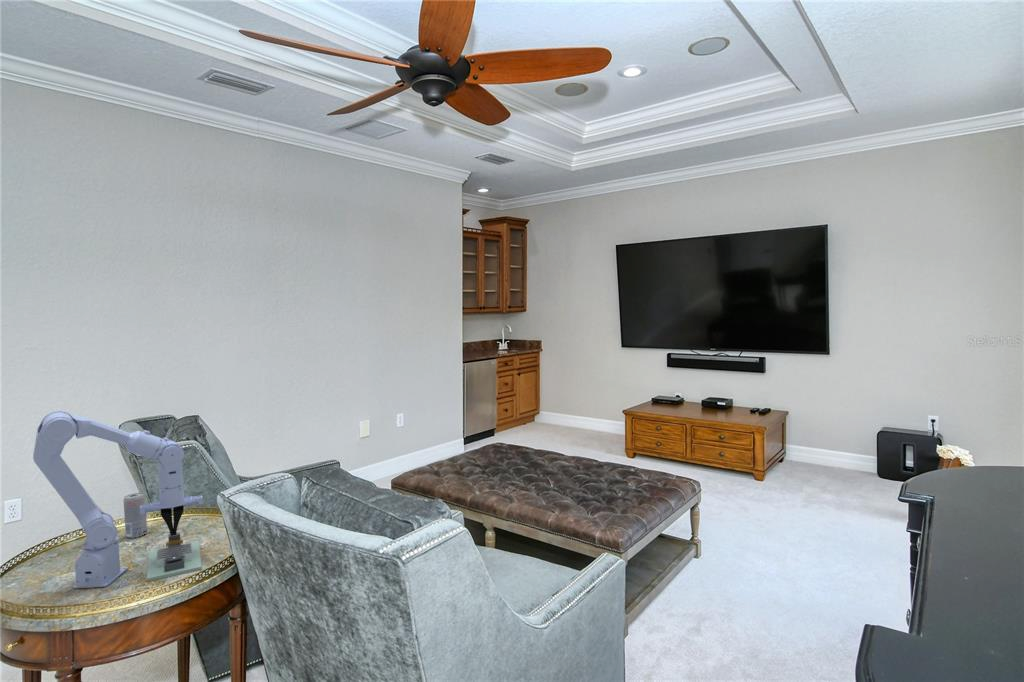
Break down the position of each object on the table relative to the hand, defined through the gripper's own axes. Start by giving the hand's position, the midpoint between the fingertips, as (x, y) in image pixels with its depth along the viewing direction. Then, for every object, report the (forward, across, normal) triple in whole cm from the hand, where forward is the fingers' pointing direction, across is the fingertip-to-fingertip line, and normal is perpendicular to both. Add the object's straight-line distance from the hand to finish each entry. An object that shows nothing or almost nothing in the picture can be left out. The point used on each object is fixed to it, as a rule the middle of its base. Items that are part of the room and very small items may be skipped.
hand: (173, 534), depth 151 cm
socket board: (+7, 0, +2) cm, 7 cm away
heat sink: (+7, 0, +2) cm, 7 cm away
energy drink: (+7, +10, -23) cm, 26 cm away
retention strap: (+4, 0, +3) cm, 5 cm away
